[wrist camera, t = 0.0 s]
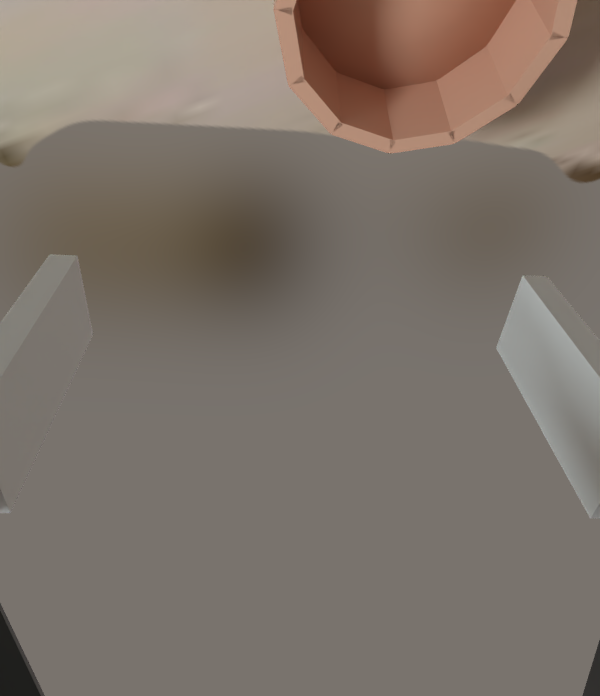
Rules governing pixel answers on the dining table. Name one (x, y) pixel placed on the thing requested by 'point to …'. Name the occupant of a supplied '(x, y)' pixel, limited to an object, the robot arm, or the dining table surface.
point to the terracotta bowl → (416, 63)
